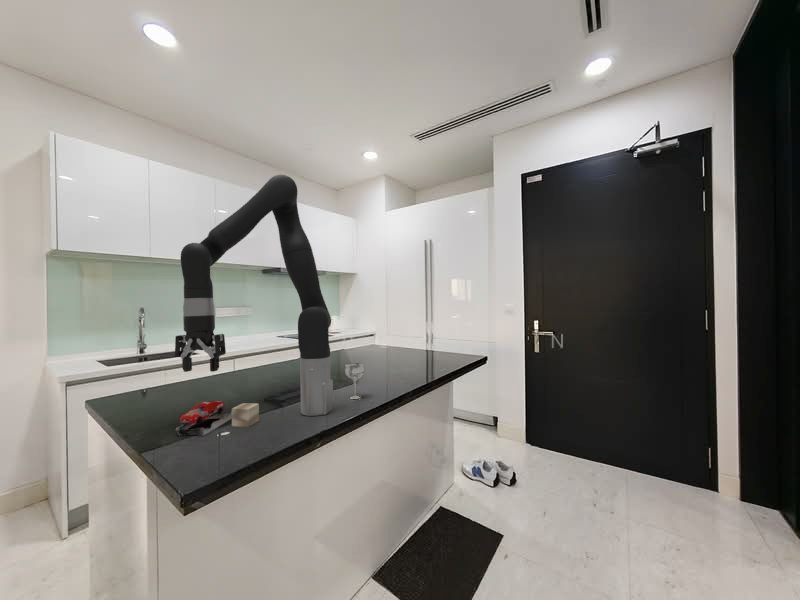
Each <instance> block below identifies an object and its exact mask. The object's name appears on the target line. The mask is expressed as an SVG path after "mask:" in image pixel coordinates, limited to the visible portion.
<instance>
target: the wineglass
mask: <svg viewBox="0 0 800 600" xmlns="http://www.w3.org/2000/svg"><path fill="white" fill-rule="evenodd" d="M344 366H345V368H344V369H345V375H346V377H348V378H349V379H351V380H352V381H353V395H352V396H349V397H350V399H358V398H360V397H361V396H360V397H359V395H356V393H357V392H356V388H357V385H356V383H357V381H358V379H360V378H362V376H363V375H364V372H365V368H364V363H361V362H351V363H347V364H345V365H344Z"/></svg>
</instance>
